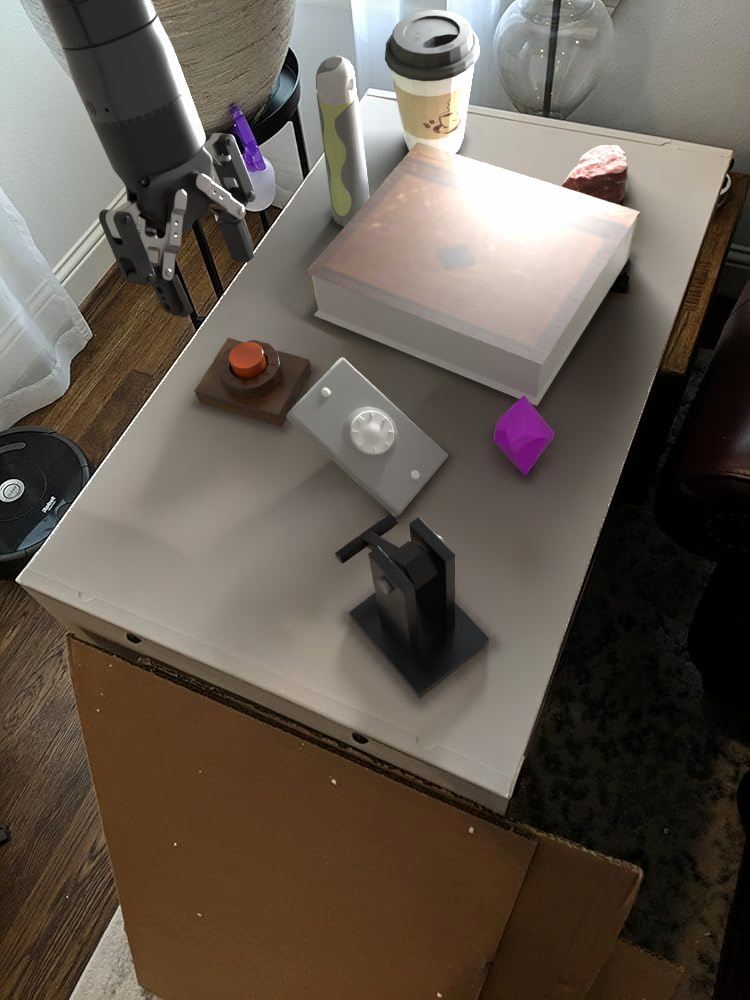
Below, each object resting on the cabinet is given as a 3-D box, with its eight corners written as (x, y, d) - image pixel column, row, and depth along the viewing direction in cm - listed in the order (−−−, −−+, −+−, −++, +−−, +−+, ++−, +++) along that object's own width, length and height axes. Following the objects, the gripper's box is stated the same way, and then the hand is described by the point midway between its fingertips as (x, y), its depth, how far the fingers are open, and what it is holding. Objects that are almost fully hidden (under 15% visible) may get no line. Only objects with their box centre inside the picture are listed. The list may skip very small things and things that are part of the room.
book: (419, 187, 108) (417, 142, 103) (629, 257, 99) (639, 211, 94) (313, 315, 98) (305, 272, 93) (536, 405, 89) (542, 364, 84)
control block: (281, 427, 90) (275, 404, 87) (198, 404, 93) (189, 380, 89) (312, 371, 94) (307, 347, 91) (232, 350, 96) (224, 325, 93)
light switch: (402, 513, 82) (289, 410, 80) (382, 525, 87) (276, 429, 86) (453, 452, 85) (345, 351, 84) (431, 467, 90) (329, 373, 89)
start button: (257, 382, 89) (253, 371, 87) (226, 374, 90) (222, 363, 88) (271, 357, 91) (268, 346, 89) (241, 349, 92) (238, 338, 90)
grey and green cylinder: (357, 234, 105) (339, 81, 88) (325, 221, 106) (300, 68, 89) (379, 210, 107) (365, 56, 90) (347, 197, 108) (327, 44, 91)
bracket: (349, 617, 78) (329, 539, 66) (417, 566, 80) (410, 482, 68) (419, 699, 74) (412, 633, 61) (489, 643, 76) (496, 568, 63)
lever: (342, 567, 73) (329, 545, 72) (396, 527, 75) (385, 505, 74) (397, 605, 65) (383, 580, 64) (457, 559, 66) (445, 534, 65)
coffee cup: (414, 183, 109) (409, 71, 96) (376, 134, 115) (367, 23, 102) (493, 153, 111) (498, 39, 98) (452, 106, 116) (452, -6, 104)
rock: (622, 190, 109) (559, 177, 110) (637, 141, 104) (572, 128, 105) (618, 230, 102) (551, 216, 102) (635, 179, 97) (565, 165, 98)
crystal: (485, 446, 87) (487, 419, 83) (525, 418, 88) (528, 390, 85) (521, 479, 85) (525, 452, 81) (561, 449, 86) (566, 421, 82)
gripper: (102, 142, 57) (192, 341, 68) (233, 54, 64) (295, 246, 76) (33, 139, 61) (129, 327, 72) (164, 56, 68) (232, 239, 79)
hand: (214, 286), depth 74 cm, fingers open, 8 cm apart
